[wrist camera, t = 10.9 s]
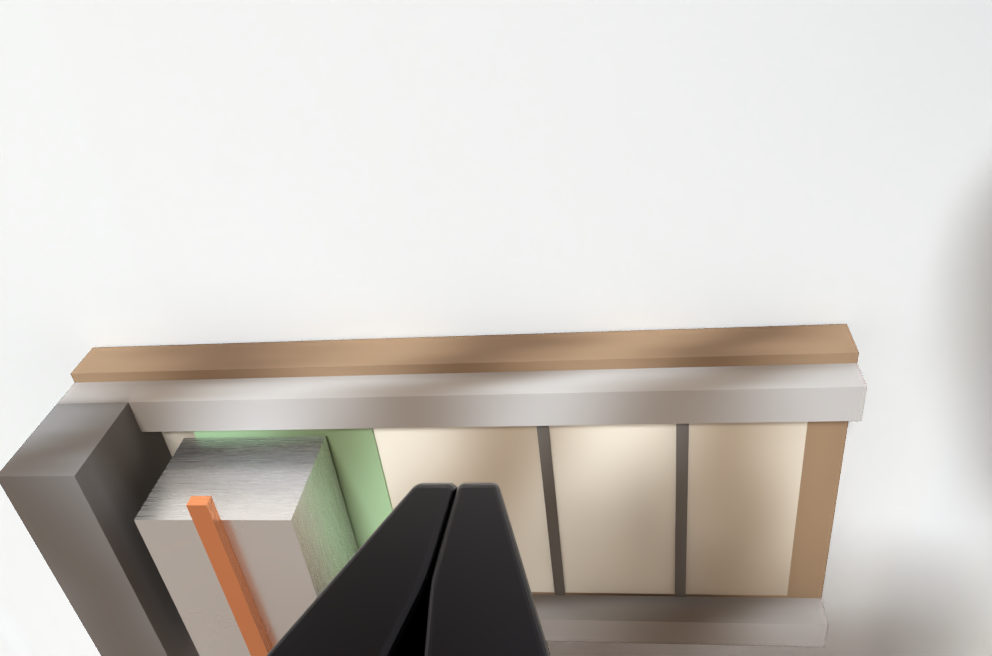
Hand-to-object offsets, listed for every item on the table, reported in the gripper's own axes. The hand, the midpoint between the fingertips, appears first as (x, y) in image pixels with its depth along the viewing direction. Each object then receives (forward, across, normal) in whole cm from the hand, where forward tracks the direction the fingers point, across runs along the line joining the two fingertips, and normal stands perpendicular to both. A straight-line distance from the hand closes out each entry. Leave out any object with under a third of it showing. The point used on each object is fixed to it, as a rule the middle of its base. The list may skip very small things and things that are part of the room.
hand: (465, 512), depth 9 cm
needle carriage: (+10, +8, +11) cm, 17 cm away
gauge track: (+12, +3, +11) cm, 17 cm away
